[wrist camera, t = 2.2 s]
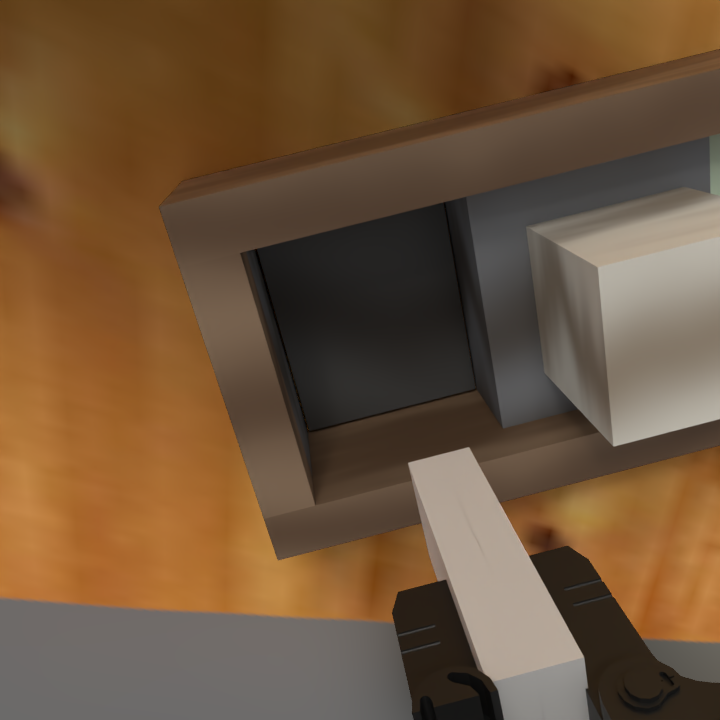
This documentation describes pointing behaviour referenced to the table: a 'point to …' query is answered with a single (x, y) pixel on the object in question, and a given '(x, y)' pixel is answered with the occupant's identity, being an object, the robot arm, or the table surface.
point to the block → (633, 311)
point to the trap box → (423, 295)
